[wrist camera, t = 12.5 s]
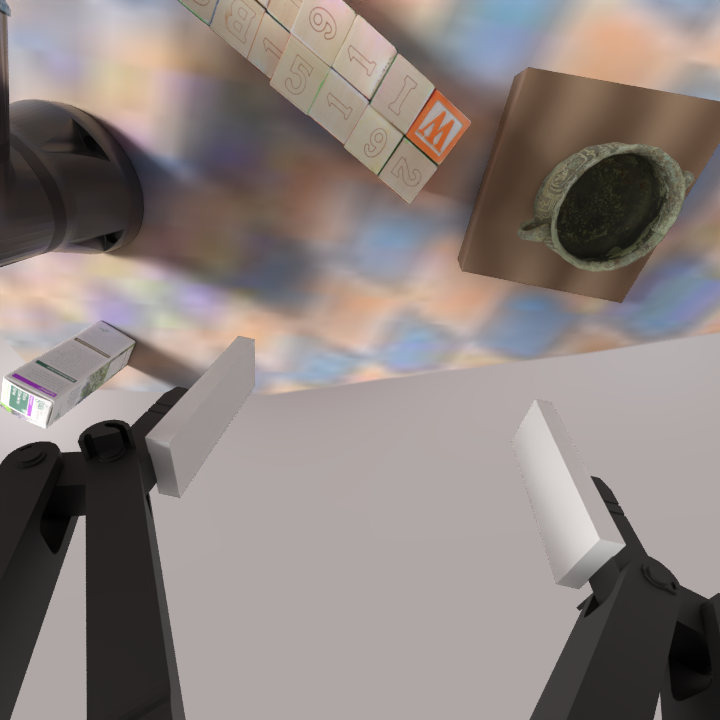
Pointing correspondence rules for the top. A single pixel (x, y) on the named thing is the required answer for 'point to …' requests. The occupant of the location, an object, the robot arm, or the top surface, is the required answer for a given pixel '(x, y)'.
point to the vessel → (608, 205)
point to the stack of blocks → (344, 82)
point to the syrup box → (65, 374)
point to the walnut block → (557, 143)
